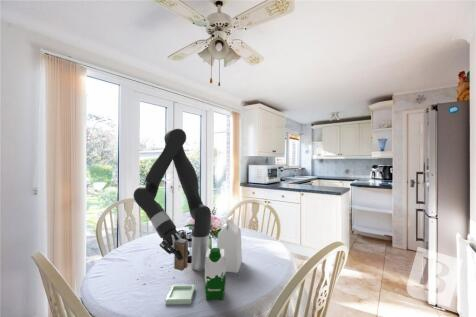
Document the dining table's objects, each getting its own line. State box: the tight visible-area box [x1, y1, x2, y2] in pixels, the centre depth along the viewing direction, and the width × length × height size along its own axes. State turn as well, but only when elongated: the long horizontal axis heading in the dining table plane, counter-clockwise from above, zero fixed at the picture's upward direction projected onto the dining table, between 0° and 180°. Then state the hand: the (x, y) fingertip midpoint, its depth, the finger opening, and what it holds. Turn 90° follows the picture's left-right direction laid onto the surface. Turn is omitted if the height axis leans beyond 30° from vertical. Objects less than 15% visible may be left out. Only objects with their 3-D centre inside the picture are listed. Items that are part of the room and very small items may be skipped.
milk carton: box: [204, 247, 227, 301], centre depth 92 cm, size 9×9×20 cm
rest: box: [165, 284, 196, 305], centre depth 91 cm, size 10×10×2 cm
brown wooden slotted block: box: [173, 239, 189, 272], centre depth 91 cm, size 4×4×11 cm
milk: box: [216, 216, 243, 274], centre depth 117 cm, size 12×12×26 cm
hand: (184, 257), depth 90 cm, fingers closed on brown wooden slotted block, 3 cm apart
